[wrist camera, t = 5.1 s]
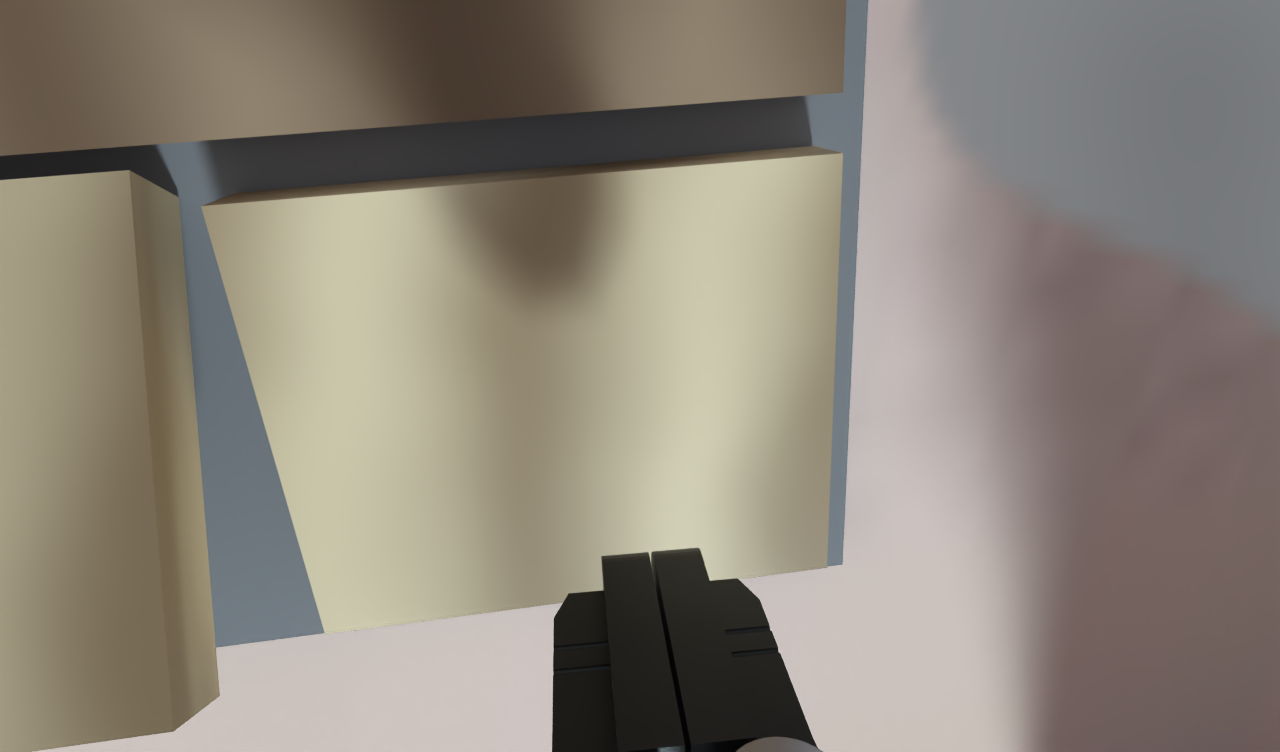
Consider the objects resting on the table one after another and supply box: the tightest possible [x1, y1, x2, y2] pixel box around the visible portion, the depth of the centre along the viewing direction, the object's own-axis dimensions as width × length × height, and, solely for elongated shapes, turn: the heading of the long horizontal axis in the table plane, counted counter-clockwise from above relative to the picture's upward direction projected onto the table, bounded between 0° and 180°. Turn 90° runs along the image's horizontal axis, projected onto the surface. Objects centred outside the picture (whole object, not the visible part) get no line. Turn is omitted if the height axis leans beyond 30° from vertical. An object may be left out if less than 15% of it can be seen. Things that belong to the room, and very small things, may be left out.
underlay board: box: [0, 0, 868, 647], centre depth 14 cm, size 26×20×1 cm
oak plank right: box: [201, 146, 843, 634], centre depth 15 cm, size 11×9×2 cm
